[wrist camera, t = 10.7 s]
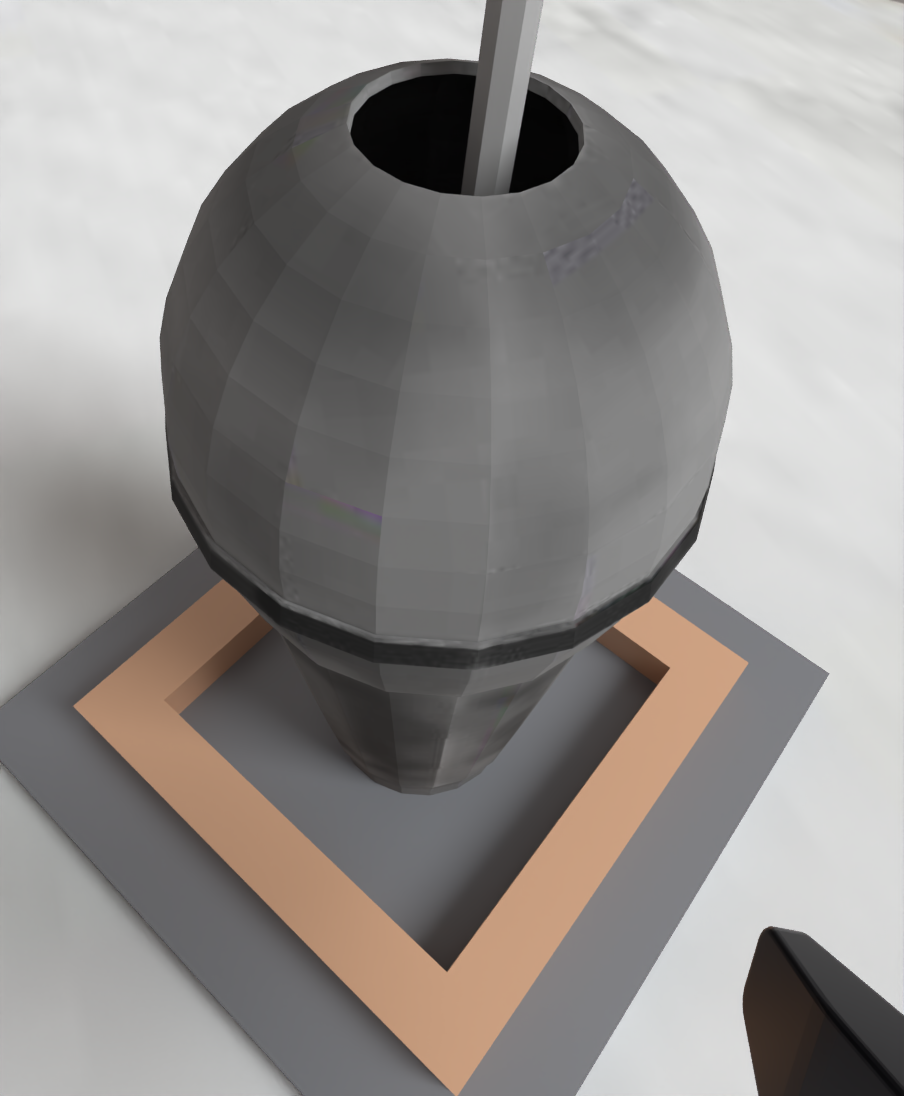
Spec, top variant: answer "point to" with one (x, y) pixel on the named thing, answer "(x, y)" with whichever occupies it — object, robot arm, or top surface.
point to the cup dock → (407, 833)
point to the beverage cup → (444, 393)
